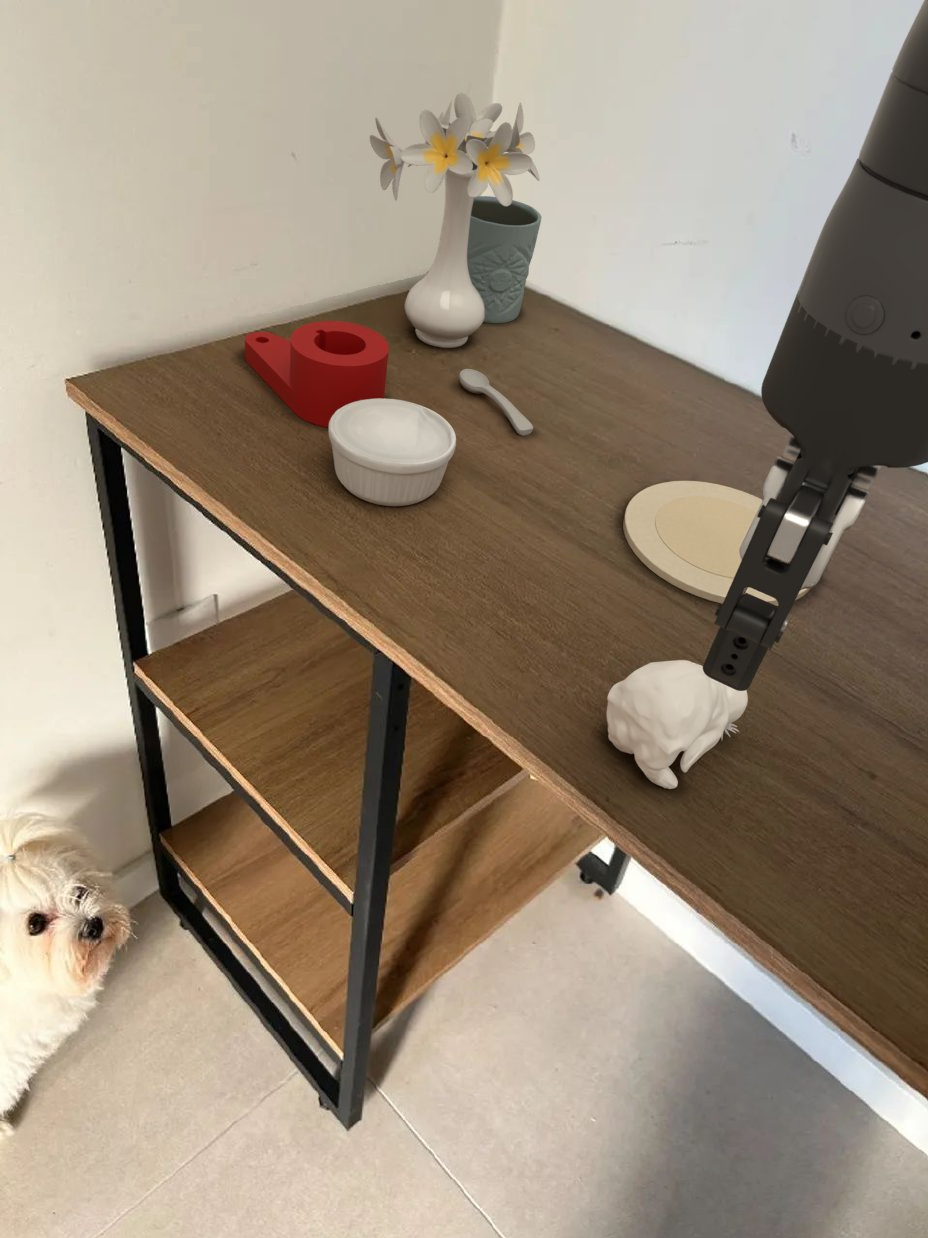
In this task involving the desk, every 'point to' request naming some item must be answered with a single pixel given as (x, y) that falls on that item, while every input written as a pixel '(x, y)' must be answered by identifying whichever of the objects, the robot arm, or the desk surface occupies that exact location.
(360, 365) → the lever
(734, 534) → the plate
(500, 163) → the flower vase
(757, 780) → the desk surface
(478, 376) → the spoon
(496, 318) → the drinking glass
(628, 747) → the white animal figurine
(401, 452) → the ramekin
